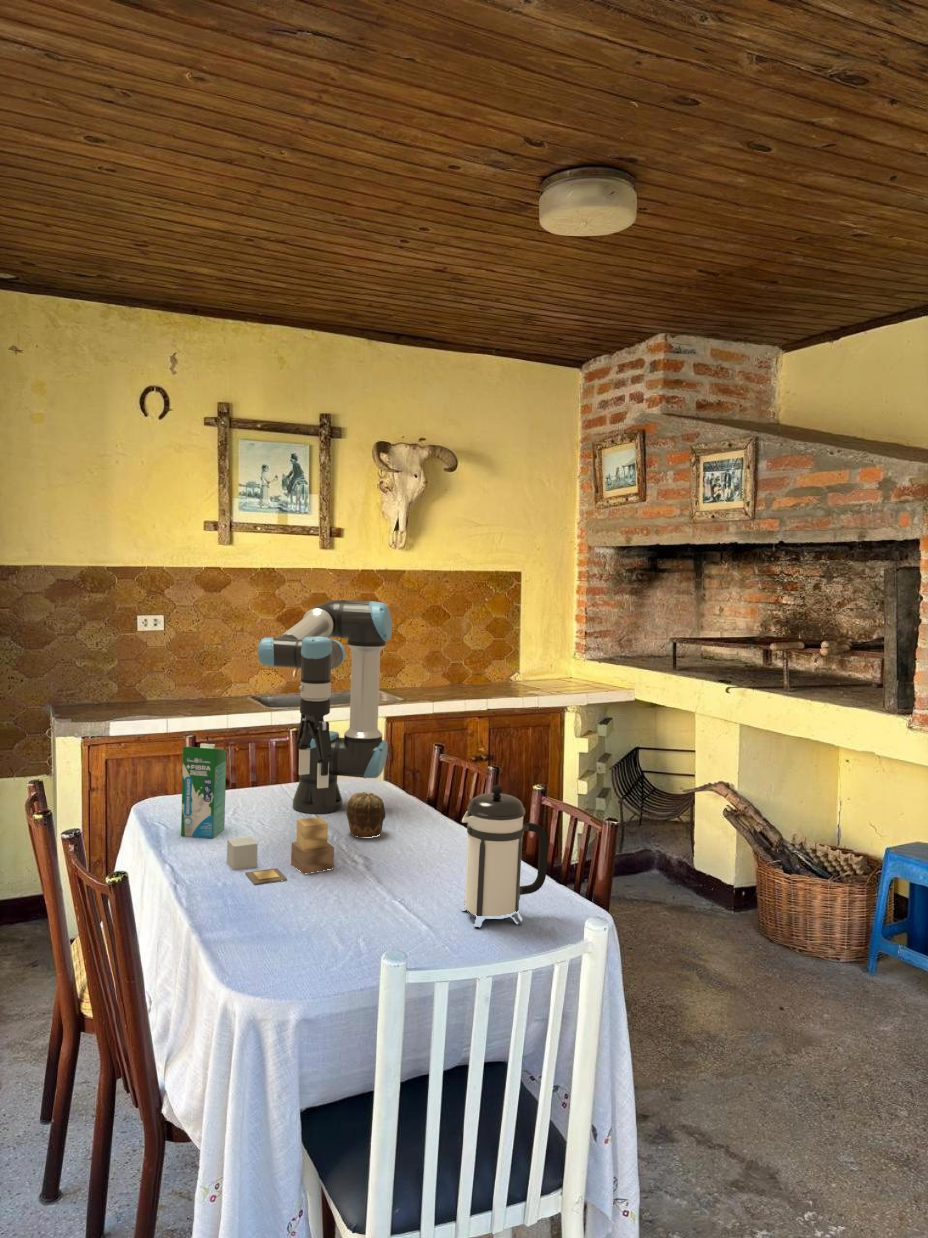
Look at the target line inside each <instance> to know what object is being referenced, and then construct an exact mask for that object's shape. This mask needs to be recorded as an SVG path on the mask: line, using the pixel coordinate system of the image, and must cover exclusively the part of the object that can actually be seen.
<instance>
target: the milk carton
mask: <svg viewBox="0 0 928 1238" xmlns="http://www.w3.org/2000/svg"><path fill="white" fill-rule="evenodd" d="M215 747H216V744H214V743H213V744H212V743H200V745H199V747H196V746H183V747H182V776H181V777H182V779H181V781H182V782H181V784H182V785H181V819H180V820H181V821H180V822H181V823H180V825H181V826H180V828H181V830H180V836H181V837H185V838H186V837H188V838H199V839H201V838H202V839H214V838H215V837H216V836H217V835H219V833H221V832H223V830H225V827H226V826H225V821H226V820H225V819H226V815H225V814H226V785H227V784H226V782H227V781H226V779H227V749H220V748H215Z"/></svg>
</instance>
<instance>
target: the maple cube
mask: <svg viewBox="0 0 928 1238" xmlns="http://www.w3.org/2000/svg"><path fill="white" fill-rule="evenodd" d="M328 829H329V823H328V822H326V821H325V820H324V819H323V818H322V817H320V816H318V817H310V818H308V817H307V818H298V819H296V838H295V839H296V841H295V842H296V843H297V844H298V845H299V846H300V847H301V848H302V849H303V850H309V849H317V848H325V847H327V843H328V837H329V836H328V833H329V830H328Z"/></svg>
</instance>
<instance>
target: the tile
mask: <svg viewBox="0 0 928 1238" xmlns="http://www.w3.org/2000/svg"><path fill="white" fill-rule="evenodd" d="M245 875H246V877H247V878H248V879H249V880H250V881H251V883H252V884H253V885H254V886H259V885H264V884H263V883H266V884H271V883H270V882H273V883H275V882H274V881H280V882H282V881H281V880H287V881H288V878H287V877H286V876H285V875H284V873H282V872H281V870H280V869H279V868H278V867H277V868H270V869H269V868H268V869H261V870H254V871H245ZM267 882H269V883H267ZM258 884H259V885H258Z"/></svg>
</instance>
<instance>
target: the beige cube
mask: <svg viewBox="0 0 928 1238" xmlns="http://www.w3.org/2000/svg"><path fill="white" fill-rule="evenodd" d="M226 848H227V849H226V863H227V864H228V865H229V867H230V868H231V870H232V871H235V869H237V870H242V869H243V870H244V869H250V868H257V867H258V843H257V841H256V840H255V839H253V837H252V836H246V837H237V838H230V839H229V838H228V839H227V844H226Z"/></svg>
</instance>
